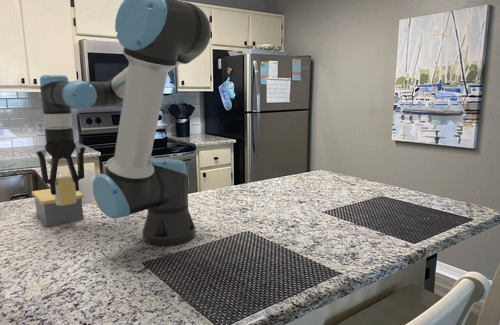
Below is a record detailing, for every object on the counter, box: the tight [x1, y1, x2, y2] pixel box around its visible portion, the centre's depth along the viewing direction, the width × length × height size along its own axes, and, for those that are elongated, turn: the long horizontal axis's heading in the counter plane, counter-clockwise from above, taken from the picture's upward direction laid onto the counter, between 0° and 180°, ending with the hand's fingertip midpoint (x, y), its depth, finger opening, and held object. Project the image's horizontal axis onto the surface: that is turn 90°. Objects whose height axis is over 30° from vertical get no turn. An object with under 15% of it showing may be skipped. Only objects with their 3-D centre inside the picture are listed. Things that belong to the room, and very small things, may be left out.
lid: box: [31, 175, 84, 206], centre depth 123 cm, size 21×12×8 cm, turn 39°
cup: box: [68, 169, 95, 205], centre depth 145 cm, size 9×9×12 cm
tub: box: [34, 197, 84, 228], centre depth 127 cm, size 15×11×8 cm
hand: (66, 202), depth 117 cm, fingers closed on lid, 4 cm apart
